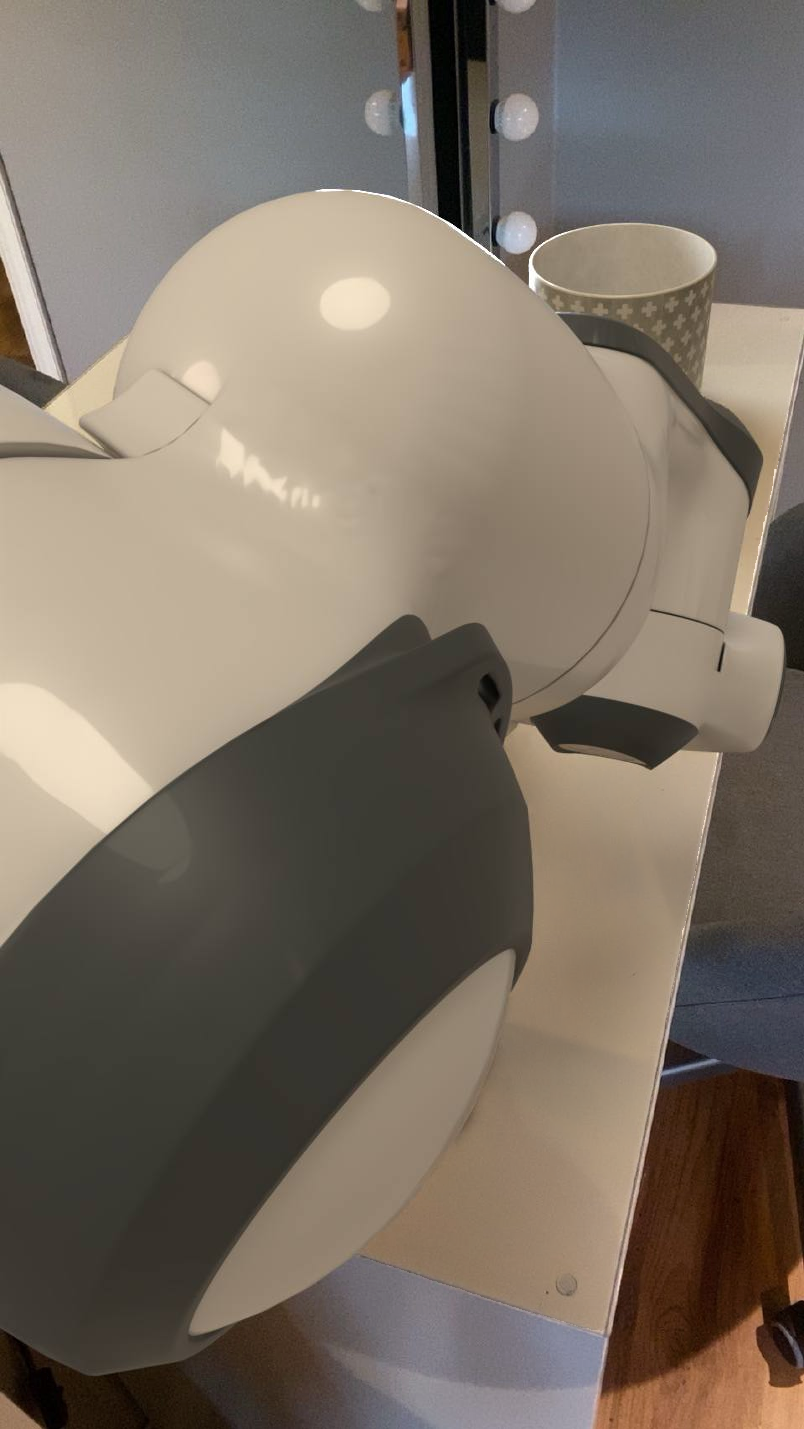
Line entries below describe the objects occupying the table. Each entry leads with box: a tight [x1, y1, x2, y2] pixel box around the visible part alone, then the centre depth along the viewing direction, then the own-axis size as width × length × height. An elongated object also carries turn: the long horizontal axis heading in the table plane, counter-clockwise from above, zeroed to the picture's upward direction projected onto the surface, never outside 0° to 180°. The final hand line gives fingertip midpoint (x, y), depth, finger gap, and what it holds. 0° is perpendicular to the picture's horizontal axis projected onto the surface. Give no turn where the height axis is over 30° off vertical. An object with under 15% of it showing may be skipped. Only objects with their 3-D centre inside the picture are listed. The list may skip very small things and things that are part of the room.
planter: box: [528, 222, 718, 394], centre depth 114 cm, size 19×19×18 cm
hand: (293, 612), depth 68 cm, fingers closed on lotion bottle, 4 cm apart
